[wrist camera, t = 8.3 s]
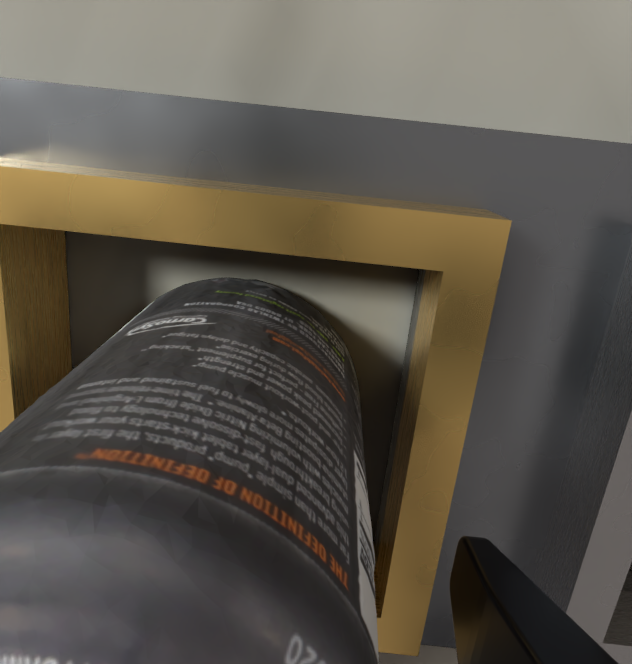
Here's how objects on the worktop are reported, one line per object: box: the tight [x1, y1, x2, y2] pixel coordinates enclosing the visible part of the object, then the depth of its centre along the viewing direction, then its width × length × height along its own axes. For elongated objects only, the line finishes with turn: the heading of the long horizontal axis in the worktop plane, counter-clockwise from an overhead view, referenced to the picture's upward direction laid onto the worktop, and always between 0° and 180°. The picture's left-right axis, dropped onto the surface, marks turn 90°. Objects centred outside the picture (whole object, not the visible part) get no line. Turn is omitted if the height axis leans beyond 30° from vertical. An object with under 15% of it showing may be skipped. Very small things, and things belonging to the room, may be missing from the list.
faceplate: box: [0, 77, 632, 664], centre depth 12 cm, size 13×24×2 cm, turn 84°
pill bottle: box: [0, 278, 379, 664], centre depth 8 cm, size 6×6×11 cm
